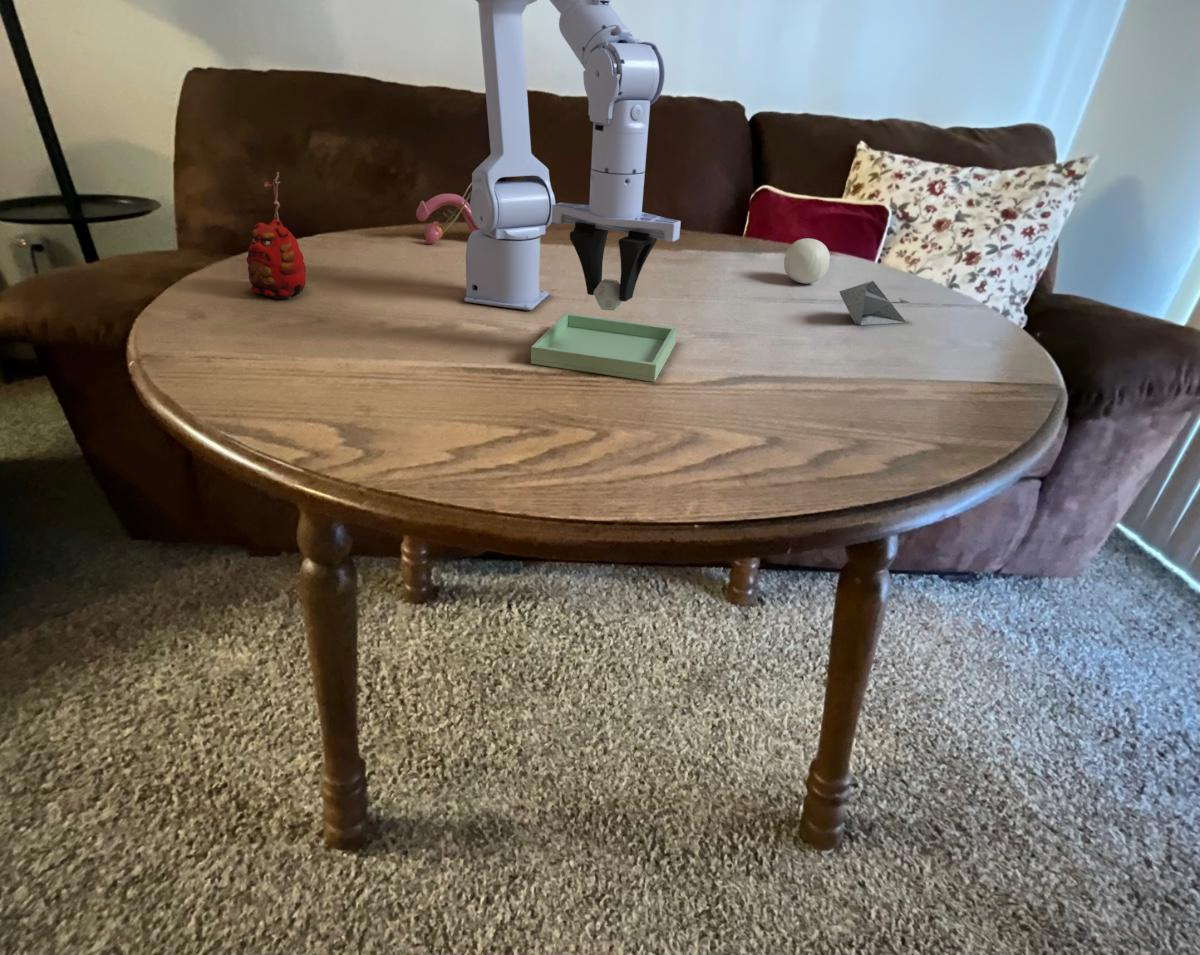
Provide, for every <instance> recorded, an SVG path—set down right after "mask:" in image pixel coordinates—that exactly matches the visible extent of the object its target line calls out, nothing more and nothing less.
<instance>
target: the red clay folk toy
mask: <svg viewBox="0 0 1200 955" xmlns="http://www.w3.org/2000/svg"><path fill="white" fill-rule="evenodd" d="M279 177H280V172H279V171H276V177H275V178H274V179H273V180H272V184H271V183H270V182H269V181H264V182H263V187H264V190H266V191H267V190H269V189H273V194H274V195H273V196H274V201H273V202H272V203H273V206H274V214H273V219H272V220H271V221H270V222H269V223H268V224H267V223H265V222H258V223H256V224H255V225H254V228H253V230H252V231H251V235H252V236H251V242H250V245H249V247H248V250H247V257H246V259H245V260H246V263H247V265H248V266H247V272H248V280H249V283H250V284H251V290H252V292H253V293H254V294H255V295H263V296H266V297H268V298H269V299H279V300H281V299H290V298H292V296H294V295H299V294H301V292H303V290H304V289H305V287H306V282H307V281H306V277H307V276H306V272H307V271H306V270H307V267H306V263H305V262H304V254H303V252H302V251H301V249H300V245H299V242H298V239H297V238H296V237H295V236H294V235H293V234H292V232H291V231H290V230H288V228H287V227H286V226H284V225H283V222H282V221H281V220H280V218H279V212H278V211H279V209H280V207H281V203H280V202H279V201H278V197H279V196H278V195H279V191H278V190H279V184H281V181H278V180H279Z"/></svg>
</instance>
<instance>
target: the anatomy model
mask: <svg viewBox="0 0 1200 955" xmlns="http://www.w3.org/2000/svg"><path fill="white" fill-rule="evenodd" d="M496 182H498V180H497V181H496ZM471 187H472V182H471V183H470V184H469V185H468V186H467V188H466V189H465V191H464V193H463V195H462V196H461V195H459V194H456V193H441V194H438V195H435V196H433V197H431V198H430V199H428V200H427V201H426V202H425V201H424V200H421V201H420V203H419V205H418V207H417V209H416V212H415V217H416V220H418V221H419V222H424V221H426V220H427V219H428V218H430V215H432V213H434V212H435V211H436V210H438V209H440V208H442V207H446V206H453V207H455V210H454V211H451V210H450V209H449V208H448V209H447V212H448V213H449V214H450V216H449V215H448V214H447V213H445V211H443V212H442V215H444V217H446V218H447V219H446V220H445V221H444V222H443V223H442V224H441V225H440V222H439V221H436V220H435V221H433V222H429V223H428V224H427V225H426V226H425V228H424V230H423V235H424V236H423V237H424V239H425V242H426V243H427V244H429V245H433V244H436V243H437V242H438V241H439V240H440V239H442V238H443V236H444V234H445V233H446V231H447V230H448V229H449V228H450V227H451V226H452V225H453V224H454V225H456V224H457V221H456V220H458V219H459V218H460V215H461V214H462V216H463V218H464V221H465V223H466V225H467V227H468V229H469V231H470V234H471V233H472V232H473V231H475V230H479V228H478V227H477V226H476V224H475V223H474V220H473V218H472V214H471V207H470V202H468V200H469V199H470V197H471V194H472V190H470V192H469V189H470V188H471ZM468 192H469V193H468ZM467 193H468V195H467ZM466 195H467V197H466ZM465 197H466V198H465ZM457 211H458V212H457ZM456 213H457V214H456ZM453 217H454V218H453ZM449 221H450V223H449V224H448V225H447V226H446V227H445V229H444V230H443V227H444V226H445V225H446V224H447V223H448V222H449Z"/></svg>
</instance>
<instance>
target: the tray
mask: <svg viewBox="0 0 1200 955" xmlns="http://www.w3.org/2000/svg"><path fill="white" fill-rule="evenodd" d="M677 334H678V328H677V327H671V326H664V325H657V324H650V323H649V324H648V323H642V322H641V323H640V322H634V321H626V320H619V319H611V318H606V317H605V318H604V317H597V316H589V315H583V314H574V313H569V312H568V313H567V312H565V313H564V314H563V315H562V316H560V318H559V319H557V320H556V321H555V323H554V324H552V325H551V327H550V328H549V329H548V330H547V331H545V333H543V334H542V336H541V337H539V339H537V341H536V342H534V343H533V344H532V346H531V347H530V364H532V365H538V366H546V367H550V368H551V367H552V368H559V369H564V370H565V369H566V370H572V371H578V372H585V373H591V374H598V375H599V374H600V375H604V376H605V375H606V376H612V377H619V378H625V379H632V380H637V381H639V380H640V381H644V382H645V381H646V382H652V383H653V382H654V383H655V382H656V380H657V378H658V377H659V375H660V373H661V371H662V369H663V367H664V366H665V364H666V362H667V360H668V358H669V357H670V355H671V352H672V351H673V349H674V347H675V345H677V344H676V343H677Z"/></svg>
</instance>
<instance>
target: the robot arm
mask: <svg viewBox="0 0 1200 955" xmlns="http://www.w3.org/2000/svg"><path fill="white" fill-rule="evenodd" d="M475 1H476V2H477V5H478V6H477V7H478V18H479V31H480V42H481V53H482V66H483V78H484V88H485V89H484V90H485V101H486V102H485V103H486V112H487V113H486V114H487V124H488V136H489V148H490V154H489V155H488V156H487V158H485V159H484V160H483V161H482V162H481V163H480V164H479V165H478V166H477V167H476V168H475V169H474V170H473V172H472V173H471V176H472V177H471V183H472V185H471V191H472V193H471V195H470V199H469V200H470V202H469V204H470V207H471V214H472V218H473V220H474V223H475V224H476V226H477V227H478V228H479V230H475V231H473V232H472V233H471V232H470V234H469V236H468V239H467V242H466V248H465V285H466V290H465V291H466V296H465V297H464V298H463V300H464V302H466V303H472V304H479V305H480V304H481V305H485V306H486V305H487V306H494V307H500V308H502V307H503V308H507V309H508V308H509V309H516V310H522V311H532V310H533V309H535V307H537V306H538V305H539V304H540V303H541V302H542V301H544V300H545V299H546V298H547V297H548V296H549V292H548V291H546V290H545V291H544V290H540V272H541V271H540V266H541V236H545V235H546V229H547V228H549V227H550V225H552V223H553V224H558V225H559V224H560V225H561V224H568V225H574V228H573V230H572V231H570V232H569V240H570V242H571V244H572V246H573V247H574V249H575V252H576V254H577V256H578V259H579V262H580V265H581V268H582V272H583V276H584V280H585V281H584V282H585V287H586V294H587V295H588V296H594V290H595V289H596V287H597V286H598V284H599V283H600V282H601V281H603V261H604V254H605V247H606V244H607V238H608V233H609V231H611V232H617V233H623V234H627V236H623V237H622V238H619V239H618V249H619V258H620V280H619V284H620V290H619V297H620V301H622V302H628V301H629V300H631V299H632V298H633V295H634V293H635V289H636V285H637V281H638V279H639V277H640V273H641V271H642V269H643V266H644V265H645V263H646V260H647V258H648V256H649V255H650V253H651V251H652V250H653V247H655V245H656V243H657V241H658V239H660V240H663V241H664V242H668V243H674V242H676V241H678V240H679V239H680V235H681V234H680V232H681V223H682V221H681V220H678V219H672V218H667V217H663V216H659V215H656V214H652V213H647V212H643V202H644V186H645V175H646V163H647V162H646V161H647V149H648V136H649V125H650V124H649V123H650V111H651V105H653V104H654V103H656V102H657V100H658V99H659V98H660V95H661V94H662V92H663V89H664V84H665V78H666V75H665V74H666V70H665V69H666V68H665V63H664V59H663V56H662V54H661V52H660V50H659V48H658V46H657V44H656V43H654V42H652V41H641V39H639V38H635V37H634V35H633V34H632V33H631V32H632V31H631V30H630V28H629V27H628V26H627V25H626V24H625V23H624V22H623V20H622V19H621V18H620V16H619V15H618V13H617V12H616V10H615V9H614V7H613V6H612V5H611V0H549V2H550V3H551V4H552V5H553V7H554V8H555V9H556V10H557V12H558V13H559V14H560V15H559V19H558V28H559V32H560V34H561V36H562V38H563V39H564V41H565V42H566V43H567V44H568V46H569V48H570V49H571V51H572V52H573V54H574V55H575V56H576V58H577V60H578V61H579V63H580V64H581V66H582V67H583V69H584V70H583V72H582V74H583V76H582V77H583V86H584V91H585V93H586V95H587V101H588V113H587V114H588V116H589V121H590V122H592V123H593V124H592V141H591V142H592V144H591V162H590V163H591V164H590V182H589V202H588V204H578V203H577V204H576V203H567V202H558V203H556V198H555V193H554V191H553V188H552V185H551V184H552V183H551V180H550V169H549V168H548V167H547V166H546V165H545V164H544V163H543V162H541V160H539V159H538V158H537V157H535V155H534V154H533V153H532V145H531V133H530V132H531V131H530V130H531V128H530V115H529V114H530V113H529V100H528V85H527V73H526V72H527V71H526V57H525V44H524V42H525V41H524V28H523V13H524V12H525V10H526V8H527V6H529V5H531V4H533V3H535V2H537V1H538V0H475ZM512 177H513V178H514V177H519V178H523V180H507V181H499V180H500V179H502V178H512ZM496 181H497V182H496Z"/></svg>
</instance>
